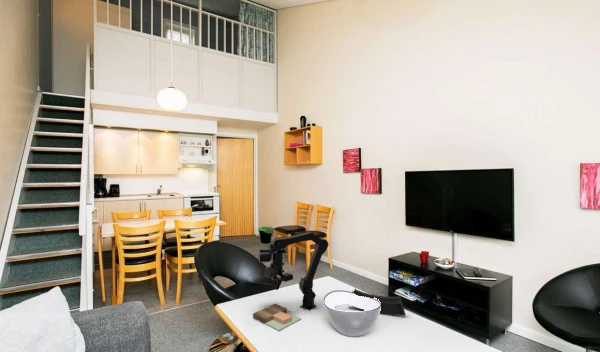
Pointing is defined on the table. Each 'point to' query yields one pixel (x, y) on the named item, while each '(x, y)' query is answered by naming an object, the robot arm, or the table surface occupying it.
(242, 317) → the table surface
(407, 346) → the table surface
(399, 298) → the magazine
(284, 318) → the terracotta tile
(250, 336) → the table surface
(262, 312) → the walnut stand
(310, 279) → the robot arm
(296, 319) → the green mat
